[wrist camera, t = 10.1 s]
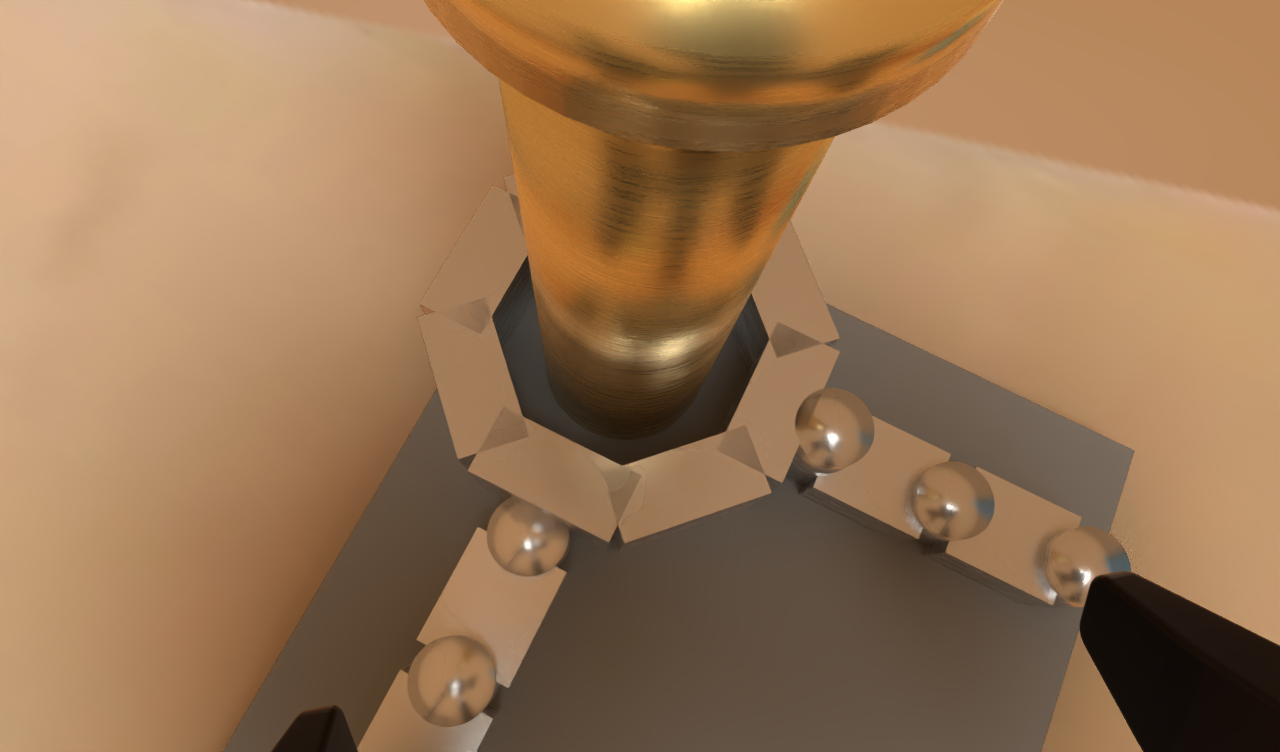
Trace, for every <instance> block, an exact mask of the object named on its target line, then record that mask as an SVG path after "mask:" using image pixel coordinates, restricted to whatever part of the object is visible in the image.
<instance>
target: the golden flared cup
mask: <svg viewBox="0 0 1280 752" xmlns="http://www.w3.org/2000/svg"><path fill="white" fill-rule="evenodd" d="M424 1H425V3H426V5H427V6H428V8H429V9H430V11H431V12H432V13H433V14H434V16H435V17H436V18H437V19H438V20H439V21H440V23H441V24H442V25H443V26H444V27H445V29H446V30H447V31H448V32H449V33H450V35H451V36H452V37H453V38H454V39H455V40H456V42H457V43H458V44H460V45H461V46H462V47H463V48H464V49H465V50H466V51H467V52H468V53H470V54H471V55H472V56H473V57H474V58H475V59H476V60H477V61H478V62H479V63H481V64H482V65H483V66H484V67H485V68H486V69H487V70H488V71H490V72H491V73H493V74H494V75H496V76H497V77H498V78H499V83H500V89H501V95H502V101H503V107H504V113H505V119H506V126H507V132H508V138H509V144H510V150H511V156H512V162H513V168H514V174H515V180H516V186H517V192H518V198H519V204H520V211H521V217H522V223H523V229H524V235H525V241H526V247H527V253H528V259H529V265H530V271H531V277H532V283H533V290H534V296H535V302H536V308H537V314H538V320H539V326H540V332H541V338H542V344H543V350H544V356H545V362H546V368H547V375H548V379H549V383H550V387H551V389H552V392H553V394H554V397H555V398H556V400H557V402H558V403H559V405H560V406H561V408H562V409H563V410H564V411H565V413H566V414H567V415H568V416H569V417H570V418H571V419H572V420H573V421H575V422H576V423H577V424H579V425H580V426H581V427H583V428H585V429H587V430H588V431H590V432H592V433H595V434H597V435H600V436H603V437H607V438H612V439H620V440H632V439H640V438H645V437H648V436H652V435H654V434H657V433H659V432H662V431H663V430H665V429H667V428H668V427H670V426H672V425H673V424H674V423H675V422H677V421H678V420H679V419H680V418H681V417H682V416H683V415H684V414H685V413H686V412H687V410H688V409H689V408H690V406H691V405H692V403H693V401H694V399H695V398H696V396H697V394H698V392H699V390H700V388H701V386H702V385H703V383H704V381H705V379H706V377H707V375H708V373H709V371H710V370H711V368H712V366H713V364H714V362H715V360H716V358H717V356H718V355H719V353H720V351H721V349H722V347H723V345H724V343H725V341H726V340H727V338H728V336H729V334H730V332H731V330H732V328H733V326H734V325H735V323H736V321H737V319H738V317H739V315H740V313H741V311H742V310H743V308H744V306H745V304H746V302H747V300H748V298H749V296H750V295H751V293H752V291H753V289H754V287H755V285H756V283H757V281H758V279H759V278H760V276H761V274H762V272H763V270H764V268H765V266H766V264H767V263H768V261H769V259H770V257H771V255H772V253H773V251H774V249H775V248H776V246H777V244H778V242H779V240H780V238H781V236H782V234H783V233H784V231H785V229H786V227H787V225H788V223H789V221H790V219H791V218H792V216H793V214H794V212H795V210H796V208H797V206H798V204H799V203H800V201H801V199H802V197H803V195H804V193H805V191H806V189H807V188H808V186H809V184H810V182H811V180H812V178H813V176H814V174H815V173H816V171H817V169H818V167H819V165H820V163H821V161H822V159H823V158H824V156H825V154H826V152H827V150H828V148H829V146H830V144H831V143H832V141H833V139H834V137H835V136H837V135H840V134H842V133H845V132H848V131H851V130H853V129H856V128H859V127H861V126H864V125H867V124H870V123H872V122H874V121H876V120H878V119H880V118H882V117H883V116H885V115H887V114H889V113H891V112H893V111H895V110H897V109H899V108H901V107H902V106H904V105H906V104H908V103H909V102H910V101H912V100H913V99H915V98H916V97H917V96H919V95H920V94H922V93H923V92H924V91H926V90H927V89H928V88H930V87H931V86H933V85H934V84H935V83H937V82H938V81H939V80H940V79H941V78H942V77H943V76H944V75H945V74H946V73H947V72H948V71H949V70H950V69H951V68H952V67H953V66H955V65H956V64H957V62H959V61H960V60H961V59H962V58H963V57H964V55H965V54H966V53H967V52H968V50H969V49H970V48H971V46H972V45H973V43H974V42H975V41H976V40H977V38H978V37H979V35H980V34H981V33H982V31H983V30H984V29H985V27H986V26H987V24H988V23H989V22H990V20H991V19H992V17H993V16H994V14H995V13H996V11H997V10H998V8H999V7H1000V6H1001V4H1002V3H1003V1H1004V0H424Z"/></svg>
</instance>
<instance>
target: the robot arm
mask: <svg viewBox="0 0 1280 752" xmlns="http://www.w3.org/2000/svg"><path fill="white" fill-rule="evenodd" d="M1080 634H1081V637H1082V640H1083V643H1084V645H1085V647H1086V649H1087V651H1088V652H1089V654H1090V656H1091V658H1092V660H1093V662H1094V663H1095V665H1096V667H1097V669H1098V671H1099V672H1100V674H1101V676H1102V678H1103V680H1104V682H1105V683H1106V685H1107V687H1108V689H1109V691H1110V693H1111V694H1112V696H1113V698H1114V700H1115V702H1116V704H1117V705H1118V707H1119V709H1120V711H1121V713H1122V715H1123V716H1124V718H1125V720H1126V722H1127V724H1128V726H1129V727H1130V729H1131V731H1132V733H1133V735H1134V736H1135V738H1136V740H1137V742H1138V744H1139V745H1140V747H1141V749H1142V750H1143V752H1280V645H1278V644H1276V643H1274V642H1272V641H1270V640H1268V639H1266V638H1263V637H1261V636H1259V635H1257V634H1255V633H1253V632H1251V631H1249V630H1247V629H1245V628H1243V627H1241V626H1239V625H1237V624H1235V623H1233V622H1231V621H1229V620H1227V619H1225V618H1223V617H1221V616H1219V615H1217V614H1215V613H1213V612H1211V611H1209V610H1207V609H1205V608H1203V607H1201V606H1199V605H1197V604H1195V603H1193V602H1191V601H1189V600H1187V599H1185V598H1183V597H1181V596H1179V595H1177V594H1175V593H1173V592H1171V591H1169V590H1167V589H1165V588H1163V587H1161V586H1159V585H1157V584H1155V583H1153V582H1151V581H1149V580H1147V579H1145V578H1143V577H1141V576H1139V575H1137V574H1135V573H1132V572H1128V571H1120V572H1114V573H1108V574H1102V575H1098V576H1096V577H1095V578H1094V579H1093V580H1092V581H1091V583H1090V586H1089V590H1088V594H1087V597H1086V601H1085V604H1084V608H1083V612H1082V615H1081V619H1080ZM270 752H358V750H357V747H356V745H355V742H354V739H353V736H352V734H351V731H350V728H349V725H348V723H347V720H346V717H345V715H344V712H343V710H342V709H341V708H340V707H339V706H337V705H329V706H323V707H317V708H311V709H307V710H304V711H302V712H301V713H299V714H298V715H297V716H296V717H295V719H294V720H293V721H292V723H291V724H290V725H289V727H288V728H287V729H286V731H285V732H284V733H283V735H282V736H281V737H280V739H279V740H278V741H277V743H276V744H275V745H274V747H273V748H272V749H271V751H270Z"/></svg>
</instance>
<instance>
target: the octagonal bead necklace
mask: <svg viewBox="0 0 1280 752" xmlns="http://www.w3.org/2000/svg"><path fill="white" fill-rule="evenodd" d="M504 182H505V187H506V191H505V190H503V189H501V188H498V187H496V186H494V185H492V187H491V188H490V190H489V191H488V193H487V195H486V196H485V198H484V199H483V201H482V203H481V204H480V206H479V208H478V209H477V211H476V212H475V214H474V216H473V217H472V219H471V221H470V222H469V224H468V225H467V227H466V229H465V230H464V232H463V234H462V235H461V237H460V238H459V240H458V242H457V243H456V245H455V246H454V248H453V250H452V251H451V253H450V255H449V256H448V258H447V259H446V261H445V263H444V264H443V266H442V268H441V269H440V271H439V272H438V274H437V276H436V277H435V279H434V280H433V282H432V284H431V285H430V287H429V289H428V290H427V292H426V293H425V295H424V297H423V298H422V300H421V302H420V303H419V304H420V306H421V308H422V310H423V311H424V313H425V315H423V316H420V317H417V318H418V322H419V325H420V329H421V332H422V336H423V339H424V343H425V346H426V350H427V353H428V357H429V360H430V364H431V367H432V371H433V374H434V378H435V381H436V385H437V388H438V392H439V395H440V399H441V402H442V406H443V409H444V412H445V416H446V419H447V423H448V426H449V430H450V433H451V437H452V440H453V444H454V447H455V451H456V454H457V458H458V460H459V461H460V462H461V463H462V464H463V466H464V467H465V468H466V469H467V471H468V472H469V473H470V474H471V475H472V477H473V478H474V479H475V480H476V481H477V482H478V483H479V484H480V486H481V487H482V488H483V489H485V490H487V491H489V492H491V493H493V494H495V495H497V496H499V497H501V498H503V499H505V500H506V501H504V502H503V503H502V504H501V505H500V506H498V508H497V509H496V510H495V511H494V513H493V515H492V516H491V519H490V521H489V524H488V528H487V531H485V530H483V529H481V528H479V527H477V529H476V531H475V533H474V535H473V537H472V539H471V540H470V542H469V544H468V546H467V548H466V550H465V551H464V553H463V555H462V557H461V559H460V561H459V562H458V564H457V566H456V568H455V570H454V572H453V573H452V575H451V577H450V579H449V581H448V583H447V584H446V586H445V588H444V590H443V592H442V594H441V595H440V597H439V599H438V601H437V603H436V605H435V606H434V608H433V610H432V612H431V614H430V616H429V617H428V619H427V621H426V623H425V625H424V627H423V628H422V630H421V632H420V634H419V636H418V638H417V639H416V640H418V641H420V642H422V643H423V644H425V645H426V646H425V647H424V648H423V649H422V650H421V651H420V652H419V653H418V654H417V656H416V657H415V659H414V660H413V662H412V664H411V666H409V667H406V668H403V669H400V671H399V673H398V674H397V676H396V678H395V680H394V682H393V684H392V685H391V687H390V689H389V691H388V693H387V695H386V696H385V698H384V700H383V702H382V704H381V706H380V707H379V709H378V711H377V713H376V715H375V717H374V718H373V720H372V722H371V724H370V726H369V728H368V729H367V731H366V733H365V735H364V737H363V739H362V740H361V742H360V744H359V746H358V748H357V750H358V752H479V750H480V748H481V746H482V744H483V742H484V740H485V738H486V736H487V734H488V732H489V730H490V728H491V726H492V724H493V722H494V720H495V718H496V716H497V714H498V712H499V710H498V709H496V708H494V707H492V706H490V705H488V704H489V703H490V702H491V701H492V700H493V699H494V697H495V696H496V694H497V692H498V690H499V688H500V685H501V684H502V685H504V686H505V687H507V688H509V687H510V686H511V685H512V683H513V682H514V681H515V679H516V677H517V675H518V673H519V671H520V669H521V667H522V665H523V663H524V661H525V659H526V657H527V655H528V653H529V651H530V649H531V647H532V645H533V643H534V641H535V639H536V637H537V635H538V633H539V631H540V629H541V627H542V625H543V623H544V621H545V619H546V617H547V615H548V613H549V611H550V609H551V607H552V605H553V603H554V601H555V599H556V597H557V595H558V593H559V591H560V589H561V587H562V585H563V583H564V581H565V579H566V577H567V575H568V574H567V572H565V571H563V570H562V569H560V568H558V567H559V566H560V565H561V564H562V563H563V561H564V560H565V558H566V556H567V554H568V551H569V547H570V533H572V534H574V535H576V536H578V537H580V538H582V539H584V540H586V541H588V542H590V543H592V544H594V545H596V546H598V547H600V548H602V549H604V550H606V549H607V547H608V545H609V543H610V541H611V539H612V537H613V535H614V537H615V540H616V543H617V546H618V550H619V551H622V550H625V549H628V548H631V547H634V546H637V545H639V544H642V543H645V542H648V541H651V540H654V539H657V538H660V537H663V536H666V535H668V534H671V533H674V532H677V531H680V530H683V529H686V528H689V527H692V526H695V525H698V524H700V523H703V522H706V521H709V520H712V519H715V518H718V517H721V516H724V515H727V514H729V513H732V512H735V511H738V510H741V509H744V508H747V507H749V506H751V505H752V504H754V503H756V502H757V501H759V500H761V499H762V498H764V497H766V496H767V495H769V494H771V493H772V492H771V490H772V489H774V488H775V487H777V486H778V485H780V484H782V483H783V481H784V478H786V479H788V480H790V481H792V482H794V483H798V484H803V485H802V488H801V490H800V492H799V495H800V496H802V497H804V498H806V499H808V500H810V501H812V502H814V503H816V504H818V505H821V506H823V507H825V508H827V509H829V510H831V511H833V512H835V513H837V514H839V515H841V516H843V517H845V518H847V519H849V520H851V521H853V522H855V523H857V524H859V525H861V526H863V527H865V528H867V529H869V530H871V531H873V532H875V533H877V534H879V535H881V536H883V537H885V538H887V539H889V540H891V541H893V542H895V543H902V542H907V541H913V542H916V543H919V544H923V545H926V546H925V549H924V552H923V554H922V556H924V557H926V558H928V559H930V560H932V561H934V562H936V563H938V564H940V565H942V566H944V567H946V568H948V569H950V570H952V571H954V572H956V573H958V574H960V575H962V576H964V577H966V578H968V579H970V580H972V581H974V582H976V583H978V584H980V585H982V586H984V587H986V588H988V589H990V590H992V591H994V592H996V593H999V594H1001V595H1003V596H1005V597H1007V598H1009V599H1011V600H1013V601H1015V602H1017V603H1019V604H1021V605H1039V606H1048V607H1084V604H1085V601H1086V597H1087V594H1088V590H1089V586H1090V583H1091V581H1092V580H1093V579H1094V578H1095V577H1096V576H1098V575H1102V574H1108V573H1114V572H1120V571H1128V572H1131V567H1130V562H1129V559H1128V556H1127V554H1126V552H1125V550H1124V548H1123V547H1122V545H1121V544H1120V543H1119V542H1118V541H1117V540H1116V539H1115V538H1114V537H1113V536H1112V535H1110V534H1109V533H1107V532H1106V531H1104V530H1101V529H1099V528H1095V527H1079V524H1080V521H1081V518H1082V517H1080V516H1078V515H1076V514H1074V513H1072V512H1070V511H1068V510H1066V509H1064V508H1062V507H1060V506H1057V505H1055V504H1053V503H1051V502H1049V501H1047V500H1045V499H1043V498H1041V497H1039V496H1037V495H1035V494H1033V493H1031V492H1029V491H1027V490H1024V489H1022V488H1020V487H1018V486H1016V485H1014V484H1012V483H1010V482H1008V481H1006V480H1004V479H1002V478H1000V477H998V476H996V475H994V474H991V473H989V472H987V471H985V470H983V469H981V468H979V467H974V468H973V467H971V466H970V465H967V464H965V463H961V462H956V461H949V462H948V460H949V458H950V455H951V454H950V453H948V452H946V451H944V450H942V449H940V448H938V447H936V446H934V445H932V444H930V443H927V442H925V441H923V440H921V439H919V438H917V437H915V436H913V435H911V434H909V433H907V432H905V431H903V430H901V429H899V428H897V427H894V426H892V425H890V424H888V423H886V422H884V421H882V420H880V419H878V418H876V417H874V416H872V415H871V413H870V411H869V409H868V408H867V406H866V405H865V404H864V402H863V401H862V400H861V399H860V398H858V397H857V396H856V395H854V394H852V393H851V392H848V391H846V390H843V389H839V388H825V389H824V387H825V385H826V383H827V380H828V378H829V376H830V374H831V371H832V369H833V367H834V364H835V362H836V360H837V358H838V355H839V353H840V351H838V350H836V349H834V348H832V346H833V345H834V344H835V343H836V342H837V341H838V340H839V339H840V337H839V334H838V332H837V330H836V327H835V325H834V323H833V320H832V318H831V315H830V313H829V311H828V308H827V306H826V304H825V301H824V299H823V296H822V294H821V292H820V289H819V287H818V285H817V282H816V280H815V277H814V275H813V273H812V270H811V268H810V266H809V263H808V261H807V258H806V256H805V254H804V251H803V249H802V247H801V244H800V242H799V239H798V237H797V235H796V232H795V230H794V228H793V225H792V223H791V220H790V221H789V223H788V225H787V227H786V229H785V231H784V233H783V234H782V236H781V238H780V240H779V242H778V244H777V246H776V248H775V249H774V251H773V253H772V255H771V257H770V259H769V261H768V263H767V264H766V266H765V268H764V270H763V272H762V274H761V276H760V278H759V279H758V281H757V283H756V285H755V287H754V289H753V291H752V293H751V295H750V296H749V298H748V300H747V302H746V304H745V306H744V308H743V310H742V311H741V313H740V315H739V317H738V319H737V321H736V323H735V325H734V326H733V328H732V330H731V332H732V334H733V337H734V340H735V342H736V345H737V347H738V350H739V353H740V355H741V358H742V360H743V363H744V365H745V368H746V371H747V373H746V375H745V377H744V379H743V381H742V383H741V385H740V387H739V390H738V392H737V394H736V396H735V398H734V400H733V402H732V404H731V407H730V409H729V411H728V413H727V415H726V417H725V419H724V421H723V423H722V426H721V428H720V430H719V432H718V434H717V435H715V436H712V437H709V438H706V439H703V440H700V441H697V442H693V443H690V444H687V445H684V446H681V447H678V448H675V449H672V450H669V451H666V452H663V453H660V454H657V455H654V456H651V457H648V458H645V459H642V460H639V461H636V462H632V463H629V464H626V465H623V466H621V465H619V464H617V463H615V462H613V461H611V460H609V459H607V458H605V457H603V456H601V455H599V454H597V453H595V452H593V451H591V450H589V449H587V448H585V447H583V446H581V445H579V444H577V443H575V442H573V441H571V440H569V439H567V438H565V437H563V436H561V435H559V434H557V433H555V432H553V431H551V430H549V429H547V428H545V427H543V426H541V425H539V424H537V423H535V422H533V421H531V420H529V419H527V418H525V417H523V414H522V411H521V408H520V405H519V401H518V398H517V395H516V392H515V388H514V385H513V382H512V379H511V376H510V372H509V369H508V366H507V363H506V360H505V356H504V353H503V352H504V350H505V348H506V347H507V345H508V343H509V341H510V340H511V338H512V336H513V334H514V333H515V331H516V329H517V327H518V326H519V324H520V322H521V320H522V319H523V317H524V315H525V313H526V312H527V310H528V308H529V306H530V305H531V303H532V301H533V299H534V298H535V296H534V290H533V283H532V277H531V271H530V265H529V259H528V253H527V247H526V241H525V235H524V229H523V223H522V217H521V211H520V204H519V198H518V192H517V186H516V180H515V174H512V175H509V176H505V177H504Z"/></svg>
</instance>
